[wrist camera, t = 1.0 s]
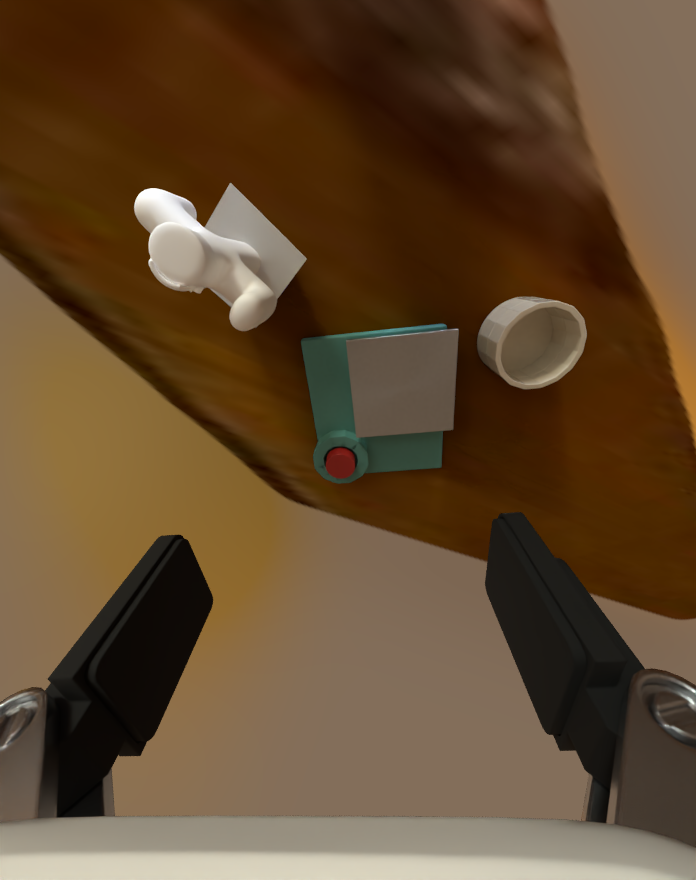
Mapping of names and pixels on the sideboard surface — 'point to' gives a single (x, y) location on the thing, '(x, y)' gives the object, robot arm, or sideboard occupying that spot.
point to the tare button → (340, 463)
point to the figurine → (219, 252)
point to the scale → (337, 416)
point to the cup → (531, 341)
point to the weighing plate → (403, 382)
